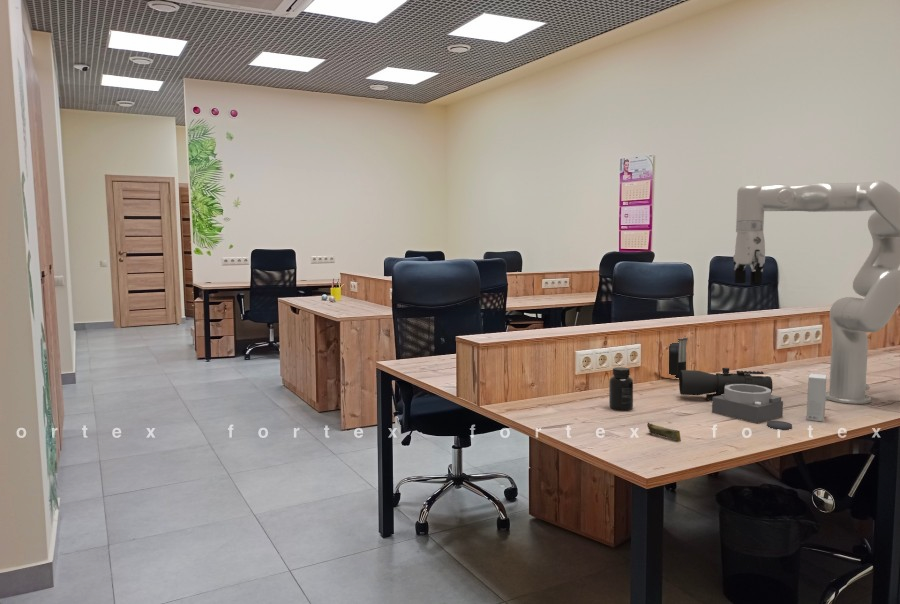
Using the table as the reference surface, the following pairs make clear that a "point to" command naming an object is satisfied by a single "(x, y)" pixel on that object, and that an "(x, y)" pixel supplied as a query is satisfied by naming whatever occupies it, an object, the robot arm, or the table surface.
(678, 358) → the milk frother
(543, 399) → the table surface
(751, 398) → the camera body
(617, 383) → the supplement bottle
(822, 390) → the skincare box
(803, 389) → the table surface
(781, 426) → the lens cap
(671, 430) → the snack bar
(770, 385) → the rifle scope
